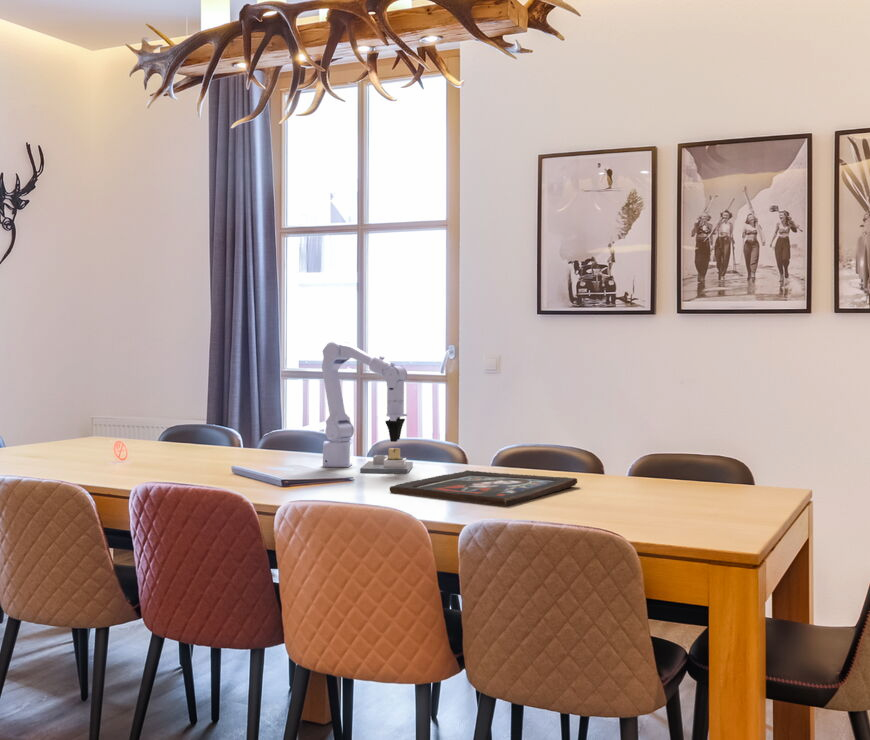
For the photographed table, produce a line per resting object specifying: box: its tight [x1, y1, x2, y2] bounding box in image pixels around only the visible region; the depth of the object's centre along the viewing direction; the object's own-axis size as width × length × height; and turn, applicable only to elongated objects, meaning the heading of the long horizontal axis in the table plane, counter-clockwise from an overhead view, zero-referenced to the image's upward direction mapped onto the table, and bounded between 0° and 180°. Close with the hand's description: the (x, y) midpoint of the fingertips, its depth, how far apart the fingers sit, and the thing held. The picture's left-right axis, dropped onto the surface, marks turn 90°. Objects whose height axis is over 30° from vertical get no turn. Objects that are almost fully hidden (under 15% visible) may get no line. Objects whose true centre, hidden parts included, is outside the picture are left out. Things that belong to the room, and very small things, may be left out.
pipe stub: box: [388, 447, 401, 460], centre depth 300 cm, size 4×4×6 cm
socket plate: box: [359, 454, 414, 475], centre depth 303 cm, size 16×20×4 cm
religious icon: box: [389, 470, 578, 507], centre depth 259 cm, size 40×45×3 cm
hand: (395, 440), depth 300 cm, fingers open, 7 cm apart
